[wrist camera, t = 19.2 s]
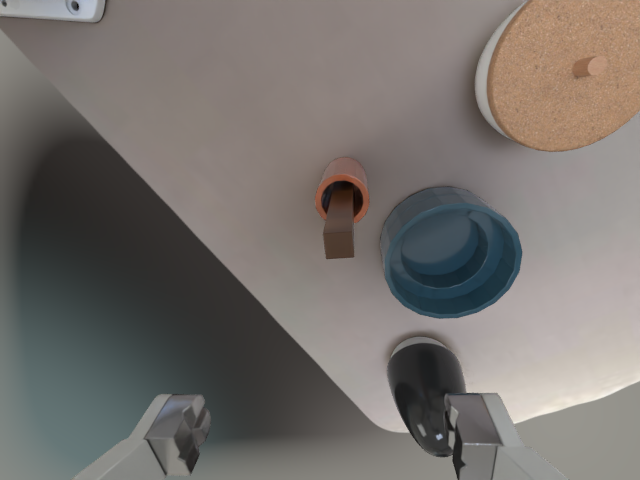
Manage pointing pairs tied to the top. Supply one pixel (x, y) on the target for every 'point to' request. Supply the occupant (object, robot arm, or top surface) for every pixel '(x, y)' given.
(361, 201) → the pot
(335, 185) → the stirring stick
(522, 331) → the top surface
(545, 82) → the lidded bowl
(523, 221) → the top surface
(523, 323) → the top surface
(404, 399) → the black rounded egg shape
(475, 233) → the mixing bowl
